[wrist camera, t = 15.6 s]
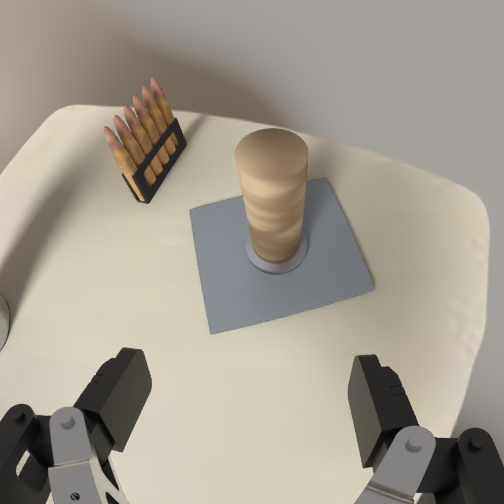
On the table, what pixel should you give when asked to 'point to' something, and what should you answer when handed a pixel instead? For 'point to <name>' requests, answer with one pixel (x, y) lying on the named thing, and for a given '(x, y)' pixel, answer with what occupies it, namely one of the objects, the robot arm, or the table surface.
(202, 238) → the slate mat
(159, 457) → the table surface
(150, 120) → the ammunition clip
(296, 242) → the tan ribbed cylinder
